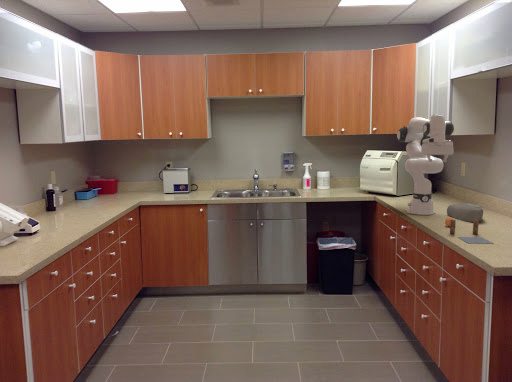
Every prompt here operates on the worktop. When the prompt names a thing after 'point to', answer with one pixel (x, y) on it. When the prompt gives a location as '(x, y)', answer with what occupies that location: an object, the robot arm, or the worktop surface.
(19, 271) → the worktop surface
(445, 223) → the ball
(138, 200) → the worktop surface
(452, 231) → the post
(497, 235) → the worktop surface
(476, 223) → the post
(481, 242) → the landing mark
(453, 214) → the stone
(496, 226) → the worktop surface
